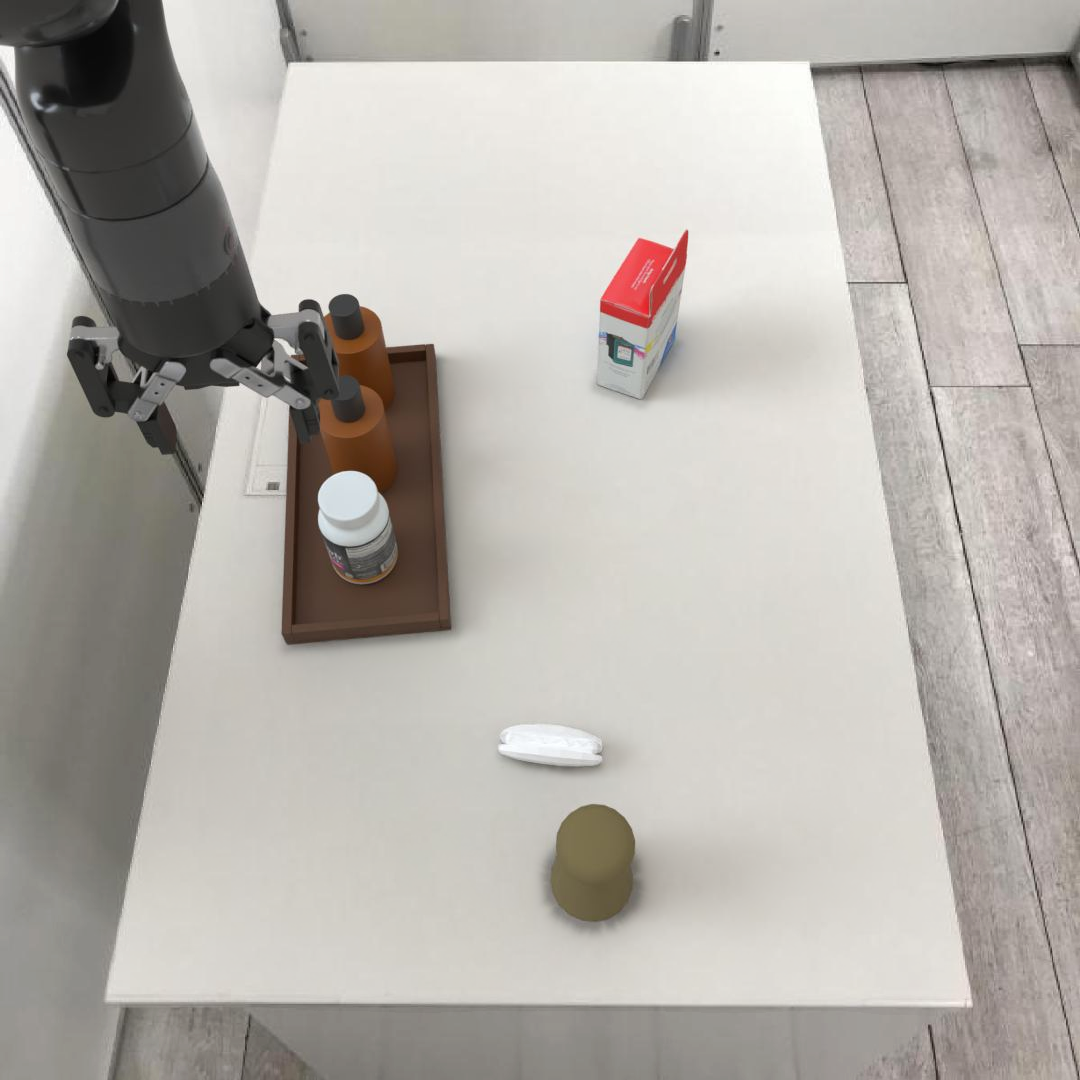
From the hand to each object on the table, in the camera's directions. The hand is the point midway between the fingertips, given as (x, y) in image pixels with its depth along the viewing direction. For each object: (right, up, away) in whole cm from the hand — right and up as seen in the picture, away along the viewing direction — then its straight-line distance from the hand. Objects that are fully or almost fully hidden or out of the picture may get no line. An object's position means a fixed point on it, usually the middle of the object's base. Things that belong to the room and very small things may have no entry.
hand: (238, 438), depth 67 cm
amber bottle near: (+3, 0, +29) cm, 29 cm away
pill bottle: (+4, -8, +24) cm, 26 cm away
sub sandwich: (+20, -23, +16) cm, 34 cm away
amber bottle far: (+3, +7, +33) cm, 34 cm away
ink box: (+28, +10, +36) cm, 47 cm away
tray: (+4, -2, +28) cm, 29 cm away
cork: (+23, -31, +11) cm, 40 cm away
